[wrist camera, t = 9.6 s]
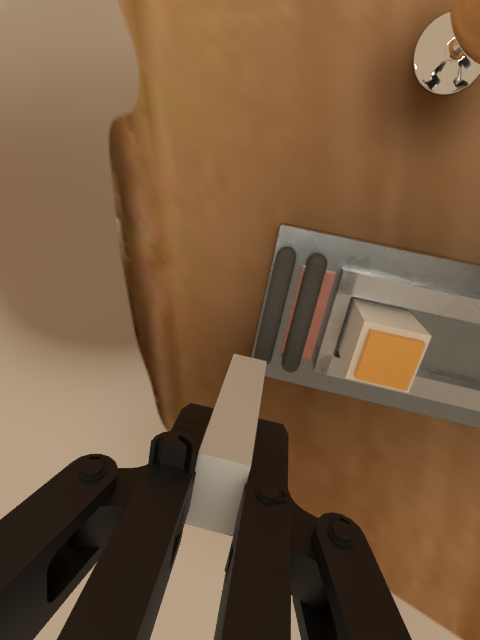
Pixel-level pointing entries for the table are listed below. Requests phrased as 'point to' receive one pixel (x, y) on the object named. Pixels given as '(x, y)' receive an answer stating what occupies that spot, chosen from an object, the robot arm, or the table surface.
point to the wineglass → (450, 50)
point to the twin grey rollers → (302, 311)
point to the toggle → (382, 345)
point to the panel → (396, 291)
